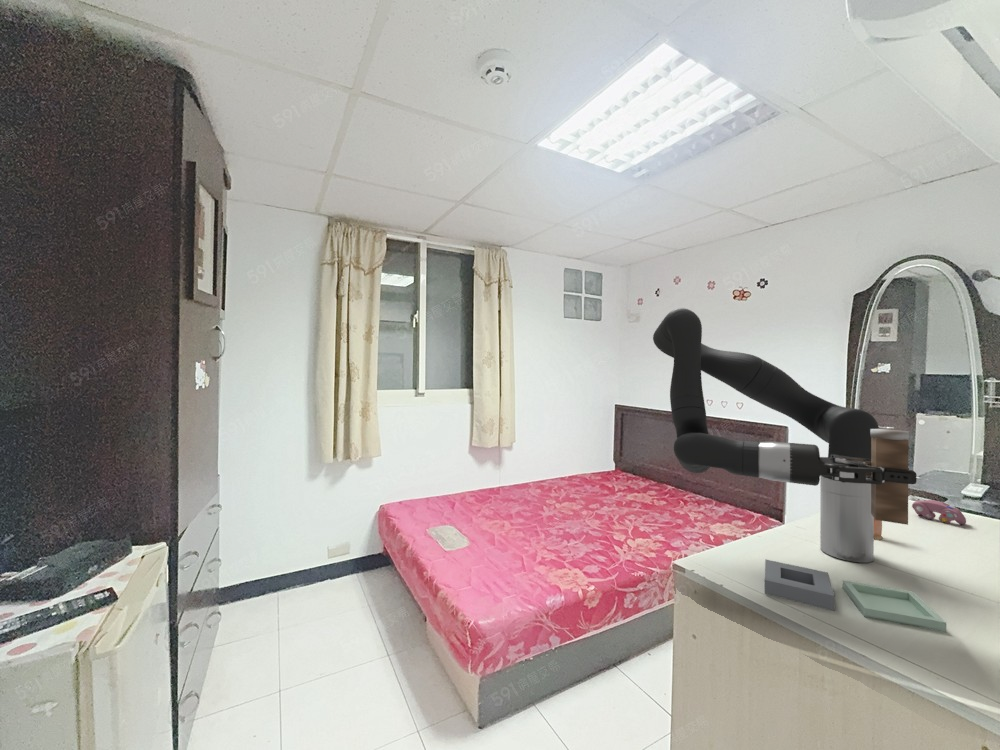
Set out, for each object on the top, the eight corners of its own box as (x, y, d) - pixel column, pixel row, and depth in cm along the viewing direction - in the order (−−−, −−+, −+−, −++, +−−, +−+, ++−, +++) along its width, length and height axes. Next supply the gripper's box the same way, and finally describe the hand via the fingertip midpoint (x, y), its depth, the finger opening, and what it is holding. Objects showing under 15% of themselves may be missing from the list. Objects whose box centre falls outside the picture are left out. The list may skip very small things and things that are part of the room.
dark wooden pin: (873, 520, 70) (873, 431, 70) (867, 512, 74) (867, 428, 74) (912, 526, 67) (912, 433, 67) (904, 517, 71) (904, 430, 71)
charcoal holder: (764, 596, 75) (764, 579, 75) (765, 574, 83) (765, 559, 83) (834, 613, 69) (834, 596, 69) (828, 588, 78) (827, 572, 78)
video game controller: (913, 521, 118) (908, 501, 116) (919, 511, 120) (914, 491, 118) (962, 533, 109) (957, 511, 107) (969, 523, 111) (964, 501, 109)
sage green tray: (842, 590, 77) (842, 580, 77) (912, 602, 73) (912, 591, 73) (864, 620, 68) (864, 607, 68) (946, 635, 64) (946, 622, 64)
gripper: (788, 448, 72) (925, 459, 63) (786, 438, 84) (901, 446, 75) (788, 490, 72) (925, 508, 63) (786, 474, 84) (901, 487, 75)
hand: (911, 474), depth 69 cm, fingers closed on dark wooden pin, 4 cm apart
